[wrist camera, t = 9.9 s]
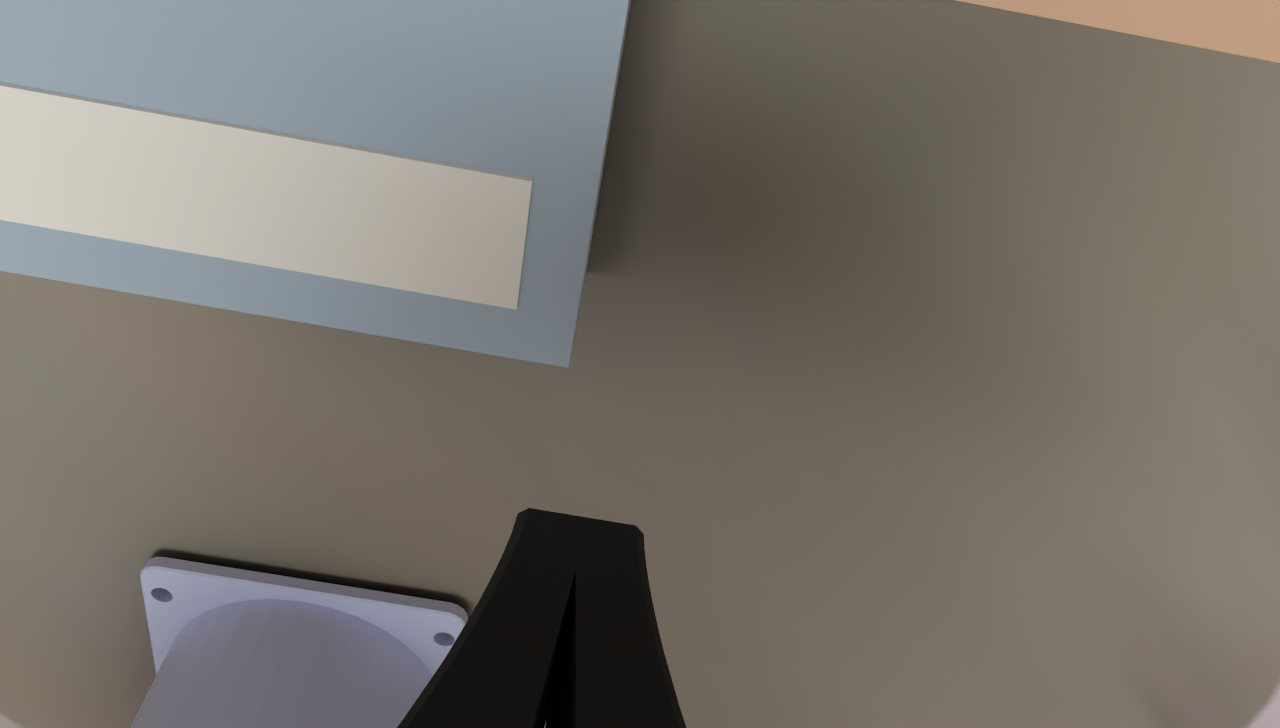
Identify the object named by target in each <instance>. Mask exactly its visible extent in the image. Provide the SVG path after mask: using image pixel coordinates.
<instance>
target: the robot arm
mask: <svg viewBox="0 0 1280 728" xmlns="http://www.w3.org/2000/svg"><path fill="white" fill-rule="evenodd" d="M140 580H141V586H142V592H143V598H144V604H145V610H146V616H147V622H148V628H149V634H150V640H151V646H152V653H153V659H154V665H155V671H156V677H155V679H154V681H153V683H152V685H151V687H150V689H149V691H148V693H147V695H146V697H145V699H144V701H143V703H142V705H141V707H140V709H139V711H138V713H137V715H136V717H135V719H134V721H133V723H132V725H131V727H130V728H544V726H545V722H546V728H686V726H685V722H684V719H683V716H682V713H681V710H680V707H679V704H678V700H677V697H676V693H675V690H674V686H673V683H672V679H671V676H670V672H669V669H668V665H667V662H666V658H665V655H664V651H663V647H662V643H661V639H660V635H659V631H658V626H657V621H656V617H655V612H654V607H653V603H652V598H651V592H650V587H649V581H648V574H647V568H646V559H645V550H644V535H643V533H642V532H641V531H640V530H639V529H638V527H637V526H635V525H629V524H623V523H617V522H610V521H604V520H598V519H592V518H586V517H580V516H574V515H568V514H562V513H556V512H550V511H543V510H537V509H531V508H528V509H526V510H524V511H522V512H520V513H518V515H517V518H516V521H515V525H514V528H513V531H512V534H511V536H510V539H509V541H508V543H507V546H506V548H505V551H504V553H503V555H502V557H501V560H500V562H499V564H498V566H497V568H496V570H495V572H494V574H493V576H492V578H491V580H490V582H489V584H488V585H487V587H486V589H485V591H484V593H483V595H482V597H481V599H480V601H479V602H478V604H477V606H476V608H475V609H474V611H473V613H472V614H471V616H470V618H469V619H468V616H467V613H466V612H465V610H464V609H463V608H462V607H460V606H458V605H457V604H454V603H450V602H445V601H439V600H432V599H426V598H420V597H413V596H407V595H401V594H395V593H388V592H382V591H376V590H369V589H363V588H357V587H350V586H344V585H338V584H332V583H325V582H319V581H313V580H306V579H300V578H294V577H287V576H281V575H275V574H269V573H262V572H256V571H250V570H243V569H237V568H231V567H224V566H218V565H212V564H206V563H199V562H193V561H187V560H180V559H174V558H168V557H154V558H151V559H149V560H148V561H147V562H146V563H145V565H144V567H143V569H142V571H141V574H140Z"/></svg>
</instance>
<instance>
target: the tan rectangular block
mask: <svg viewBox="0 0 1280 728" xmlns="http://www.w3.org/2000/svg"><path fill="white" fill-rule="evenodd" d="M957 1H962V2H967V3H972V4H977V5H983V6H988V7H993V8H998V9H1003V10H1009V11H1014V12H1019V13H1024V14H1029V15H1034V16H1040V17H1045V18H1050V19H1055V20H1060V21H1065V22H1071V23H1076V24H1081V25H1086V26H1091V27H1096V28H1102V29H1107V30H1112V31H1117V32H1122V33H1127V34H1133V35H1138V36H1143V37H1148V38H1153V39H1158V40H1164V41H1169V42H1174V43H1179V44H1184V45H1189V46H1195V47H1200V48H1205V49H1210V50H1215V51H1220V52H1226V53H1231V54H1236V55H1241V56H1246V57H1251V58H1257V59H1262V60H1267V61H1272V62H1277V63H1280V0H957Z"/></svg>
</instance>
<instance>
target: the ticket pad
mask: <svg viewBox="0 0 1280 728" xmlns="http://www.w3.org/2000/svg"><path fill="white" fill-rule="evenodd" d="M630 5H631V0H0V271H5V272H11V273H16V274H22V275H28V276H34V277H40V278H46V279H51V280H57V281H63V282H69V283H75V284H81V285H86V286H92V287H98V288H104V289H110V290H116V291H121V292H127V293H133V294H139V295H145V296H151V297H156V298H162V299H168V300H174V301H180V302H186V303H191V304H197V305H203V306H209V307H215V308H221V309H226V310H232V311H238V312H244V313H250V314H256V315H261V316H267V317H273V318H279V319H285V320H291V321H296V322H302V323H308V324H314V325H320V326H326V327H331V328H337V329H343V330H349V331H355V332H361V333H366V334H372V335H378V336H384V337H390V338H396V339H401V340H407V341H413V342H419V343H425V344H431V345H436V346H442V347H448V348H454V349H460V350H466V351H471V352H477V353H483V354H489V355H495V356H501V357H506V358H512V359H518V360H524V361H530V362H536V363H541V364H547V365H553V366H559V367H565V368H569V363H570V358H571V352H572V347H573V342H574V336H575V331H576V325H577V320H578V315H579V309H580V304H581V299H582V293H583V288H584V282H585V277H586V271H587V265H588V259H589V253H590V247H591V241H592V235H593V229H594V223H595V217H596V211H597V205H598V199H599V193H600V187H601V181H602V175H603V169H604V163H605V156H606V150H607V144H608V138H609V132H610V126H611V120H612V114H613V108H614V102H615V96H616V90H617V84H618V78H619V72H620V66H621V60H622V54H623V48H624V42H625V36H626V30H627V23H628V17H629V11H630Z"/></svg>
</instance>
